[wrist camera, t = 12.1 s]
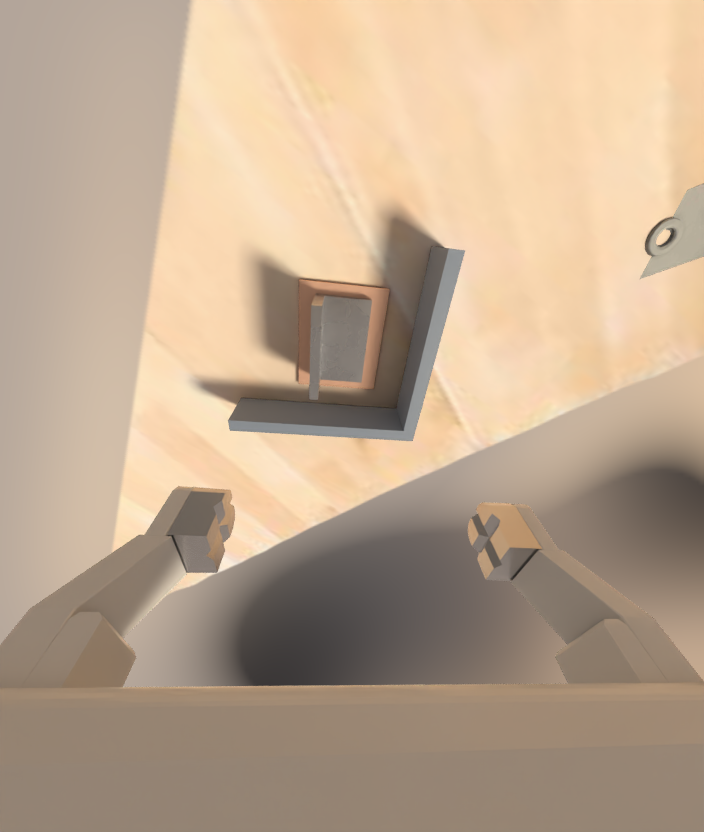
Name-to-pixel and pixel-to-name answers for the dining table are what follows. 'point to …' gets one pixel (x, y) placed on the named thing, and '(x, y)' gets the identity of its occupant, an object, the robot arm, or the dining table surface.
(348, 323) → the angle bracket
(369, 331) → the mat
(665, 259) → the mounting bracket
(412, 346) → the grey l-shaped piece
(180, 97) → the dining table surface
